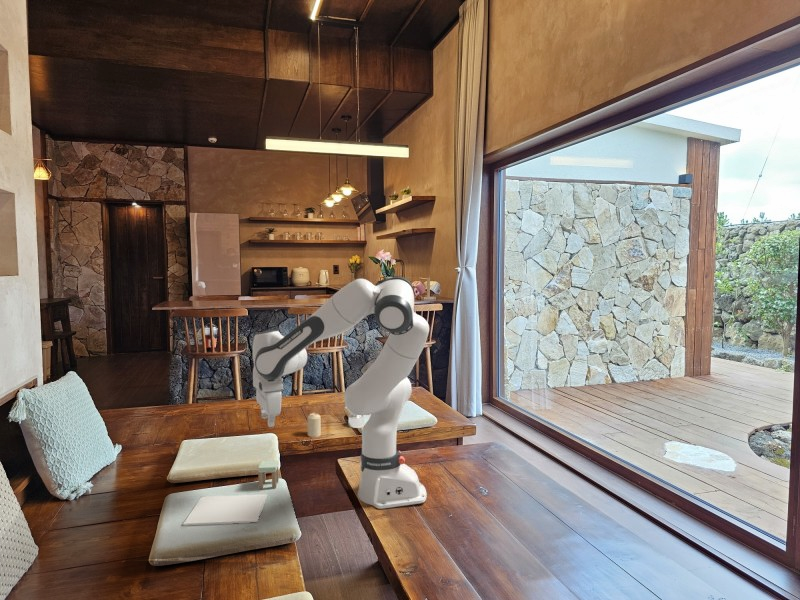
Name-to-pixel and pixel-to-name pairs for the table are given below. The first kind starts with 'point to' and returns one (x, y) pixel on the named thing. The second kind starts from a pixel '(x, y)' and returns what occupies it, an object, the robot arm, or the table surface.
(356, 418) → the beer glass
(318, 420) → the candle
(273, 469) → the wooden stool
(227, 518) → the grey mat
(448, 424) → the table surface
